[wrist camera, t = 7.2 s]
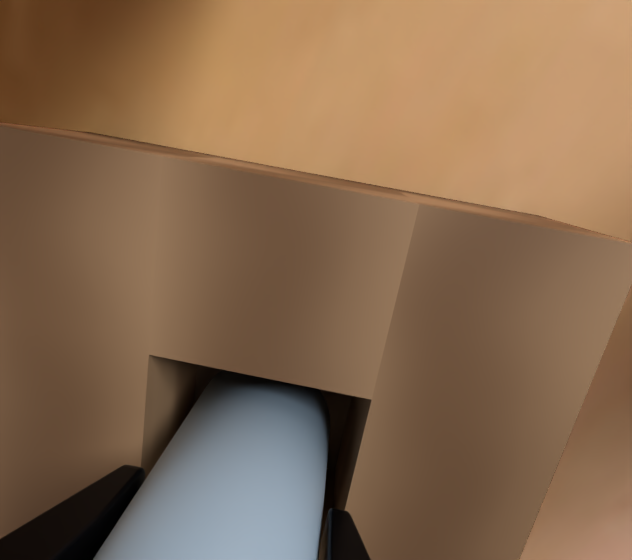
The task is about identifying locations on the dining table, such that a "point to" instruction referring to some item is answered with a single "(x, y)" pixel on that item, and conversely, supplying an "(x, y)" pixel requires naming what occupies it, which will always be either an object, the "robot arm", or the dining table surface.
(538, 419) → the bore block
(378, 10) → the dining table surface
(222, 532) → the pin
